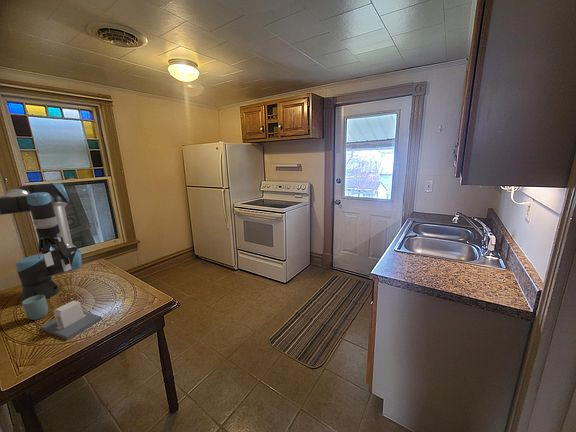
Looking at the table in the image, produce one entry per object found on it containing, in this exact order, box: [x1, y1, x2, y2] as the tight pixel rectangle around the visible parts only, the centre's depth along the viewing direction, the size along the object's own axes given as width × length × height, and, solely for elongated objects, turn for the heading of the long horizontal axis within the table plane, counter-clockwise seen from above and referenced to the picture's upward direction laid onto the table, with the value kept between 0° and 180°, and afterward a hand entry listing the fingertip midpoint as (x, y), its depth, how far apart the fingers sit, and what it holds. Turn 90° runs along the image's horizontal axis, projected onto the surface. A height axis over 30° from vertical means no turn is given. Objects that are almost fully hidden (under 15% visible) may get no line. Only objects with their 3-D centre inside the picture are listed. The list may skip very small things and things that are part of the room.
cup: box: [21, 295, 49, 321], centre depth 117 cm, size 8×8×10 cm
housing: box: [52, 300, 84, 328], centre depth 111 cm, size 5×8×8 cm, turn 160°
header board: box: [39, 310, 103, 341], centre depth 112 cm, size 20×14×6 cm
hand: (58, 267), depth 117 cm, fingers open, 13 cm apart
